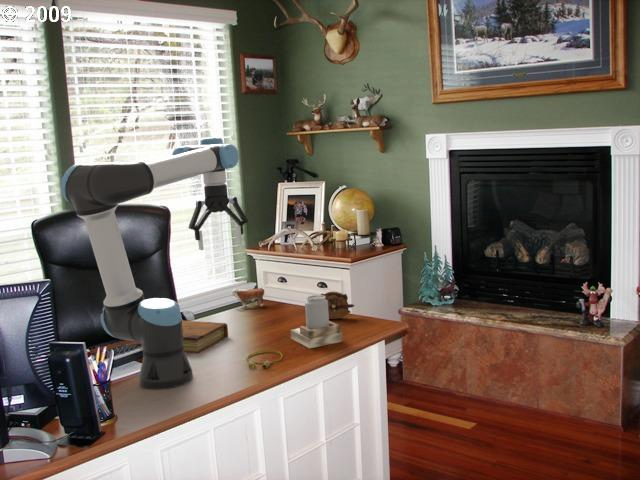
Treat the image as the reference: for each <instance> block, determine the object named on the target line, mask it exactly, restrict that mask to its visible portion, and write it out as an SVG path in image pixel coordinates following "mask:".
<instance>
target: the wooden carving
mask: <svg viewBox="0 0 640 480" xmlns="http://www.w3.org/2000/svg"><path fill="white" fill-rule="evenodd" d="M320 295H323V296H325V299H326V300H327V301H328V314H329V320H337V319H340V318H344V317H345V316H347V315H349V314H351V313H352V312H351V310H349V309H350V308H353V307H355V304H353V303H348V298H349V297H348V295H347V293H343V292H339V291H336V290H335V291H328V292H325V293H321V294H320Z"/></svg>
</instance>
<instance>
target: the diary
mask: <svg viewBox="0 0 640 480" xmlns="http://www.w3.org/2000/svg"><path fill="white" fill-rule="evenodd" d="M228 327H229V326H228V324H227V322H212V321H211V322H210V321H195V320H194V321H193V320H182V331H183V344H184V352H185V354H186V353H188V354H189V353H190V354H201V353H202V352H204V351H206V350H208V349H209V348H211V347H213V346H215V345H216V343H217V344H218V343H221V342H223V340H226V339H228V338H227V337H229V328H228ZM225 338H226V339H225Z"/></svg>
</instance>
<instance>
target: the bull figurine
mask: <svg viewBox="0 0 640 480" xmlns="http://www.w3.org/2000/svg"><path fill="white" fill-rule="evenodd" d="M230 295H231V296H232V297H234V298H236V299H237V300H238V301H239V302H240V303H242V306H241V308H240V309H241V310H244V309H245V308H246V307H247V306H246V305H247V304H246V303H247V302H248V301H251V302H252V303H253V302H254V301H255V300H256V302H255V304H254V306H255V307H256V306H257V305H259V307H263V306H264V301H265V299H264V298H263V297H264V295H265V289H264V288H263V287H260V288H259V287H258V288H254V289H253V288H252V289H242V288H240V289H239V288H234V289H232V292H231V293H230ZM259 303H260V304H259Z"/></svg>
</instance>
